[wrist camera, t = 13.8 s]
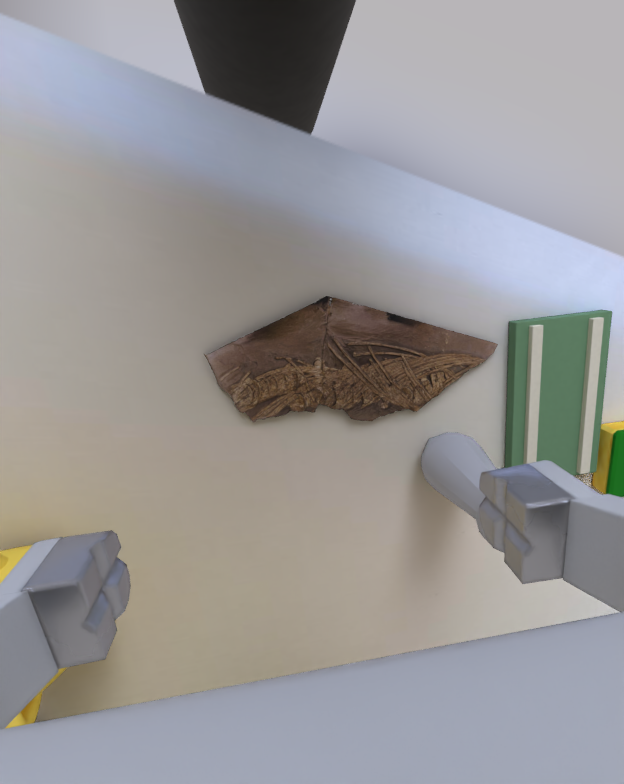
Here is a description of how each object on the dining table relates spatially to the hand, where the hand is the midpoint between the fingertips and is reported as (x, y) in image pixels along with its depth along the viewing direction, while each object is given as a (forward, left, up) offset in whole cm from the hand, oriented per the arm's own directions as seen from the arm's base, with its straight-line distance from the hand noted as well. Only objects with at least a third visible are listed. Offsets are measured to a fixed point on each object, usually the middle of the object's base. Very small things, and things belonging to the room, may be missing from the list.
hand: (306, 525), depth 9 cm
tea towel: (+9, +25, -28) cm, 39 cm away
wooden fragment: (+3, +7, -28) cm, 29 cm away
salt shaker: (+13, +15, -28) cm, 34 cm away
